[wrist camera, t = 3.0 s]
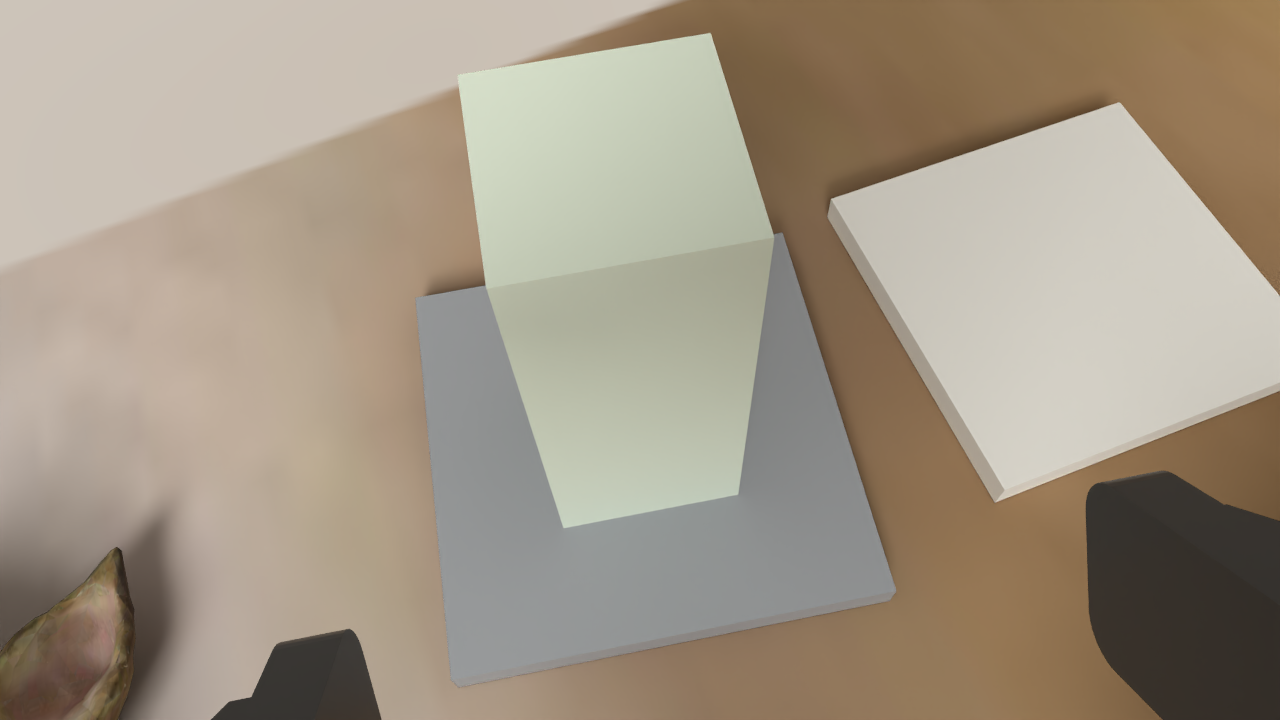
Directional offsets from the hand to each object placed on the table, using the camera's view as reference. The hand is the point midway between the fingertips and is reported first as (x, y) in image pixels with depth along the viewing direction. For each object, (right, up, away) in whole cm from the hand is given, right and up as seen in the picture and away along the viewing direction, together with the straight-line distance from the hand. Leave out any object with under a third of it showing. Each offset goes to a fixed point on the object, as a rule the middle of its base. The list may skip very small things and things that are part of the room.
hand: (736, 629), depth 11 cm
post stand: (-1, 0, +19) cm, 19 cm away
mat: (+12, +5, +21) cm, 25 cm away
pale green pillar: (-1, +1, +18) cm, 18 cm away
